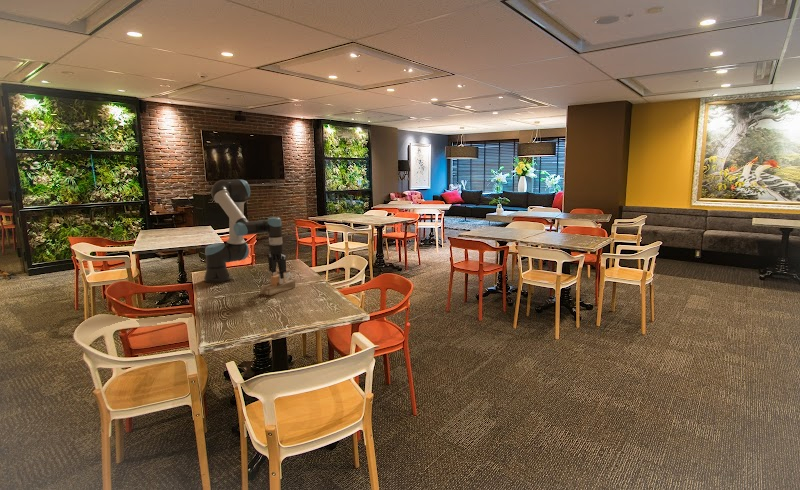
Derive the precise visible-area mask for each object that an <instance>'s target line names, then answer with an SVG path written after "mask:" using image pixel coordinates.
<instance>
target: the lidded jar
mask: <svg viewBox="0 0 800 490" xmlns="http://www.w3.org/2000/svg"><path fill="white" fill-rule="evenodd" d="M276 270H277V271H276V272H277V275H278V273H279V268H278V267H276ZM283 274H284V278H285V279H287V280H290V277H291V268H288V267H286V272H284V273H283Z"/></svg>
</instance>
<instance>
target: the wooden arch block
mask: <svg viewBox="0 0 800 490" xmlns="http://www.w3.org/2000/svg"><path fill="white" fill-rule="evenodd" d="M278 281H279V275H275V276H272V275H271V276H270V284H271V285H272V286H277V282H278ZM283 283H285V278H283Z"/></svg>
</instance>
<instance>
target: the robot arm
mask: <svg viewBox="0 0 800 490" xmlns="http://www.w3.org/2000/svg"><path fill="white" fill-rule="evenodd" d="M210 194H211V197H212V199H213V201H215V203H216V204H218V205H219V206H220V207H221V209H222V210H223V211H224V213H225V214H226V215H227V217H228V219H229V223H228V225H229V227H228V229H229V230H228V231H229V232H228V234H229V235H228V239H227V240H226V244H225V243H224V242H217V243H212V244H209V245H207V246H206V247H205V248H204V255H205V264H206V267H205V268H206V271H205V275H204V282H205V283H209V284H214V283H215V284H217V283H223V282H228V281H229V280H230V279H231V275H230V273H229V270H228V269H227V263H232V262H237V261H238V262H239V261H243V260H244V261H245V260H246V259H247V258H248V257H249V254H250V247H249V245H248V243H247V242H246V240H245V239H244V236H251V235H258V234H268V243H269V247H268V248H269V252H270V253H268V254H267V255H266V257H267V262H268V271H269V272H271V274H272V275H271V276H275V275H277V272H276V271H277V270H276V269H277V268H279V273H278V275H279V284H283V278H284V274H283V273H284V272H286V268H287V255H285V254H283V250H284V245H283V243H284V242H283V227H282V226H283V224H282V219H281V217H279V216H277V217H274V216H273V217H268V218H267V219H259V220H254V221H253V220H252V221H249V220H248V219H247V218H246V216H245V215H244V209H245V208H244V207H245V206H244V205H245V203H247V199H248V198H250V196H251V188H250V184H249V183H248V181H247V180H244V179H220V180H217V181H216V182H214V184H213V185H212V187H211V191H210ZM277 283H278V282H277Z"/></svg>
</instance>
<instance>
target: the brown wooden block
mask: <svg viewBox="0 0 800 490" xmlns="http://www.w3.org/2000/svg"><path fill="white" fill-rule="evenodd" d="M294 288H296V280H293V279H288V280H287V279H285V283H283V284H279V281H278V283H277V286H272V285H271V283H269V284H265V285H262V286H259V291H260V292H259V293H260V294H261V295H265V296H273V295H276V294H279V293H283V292H285V291H289V290H291V289H294Z"/></svg>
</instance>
